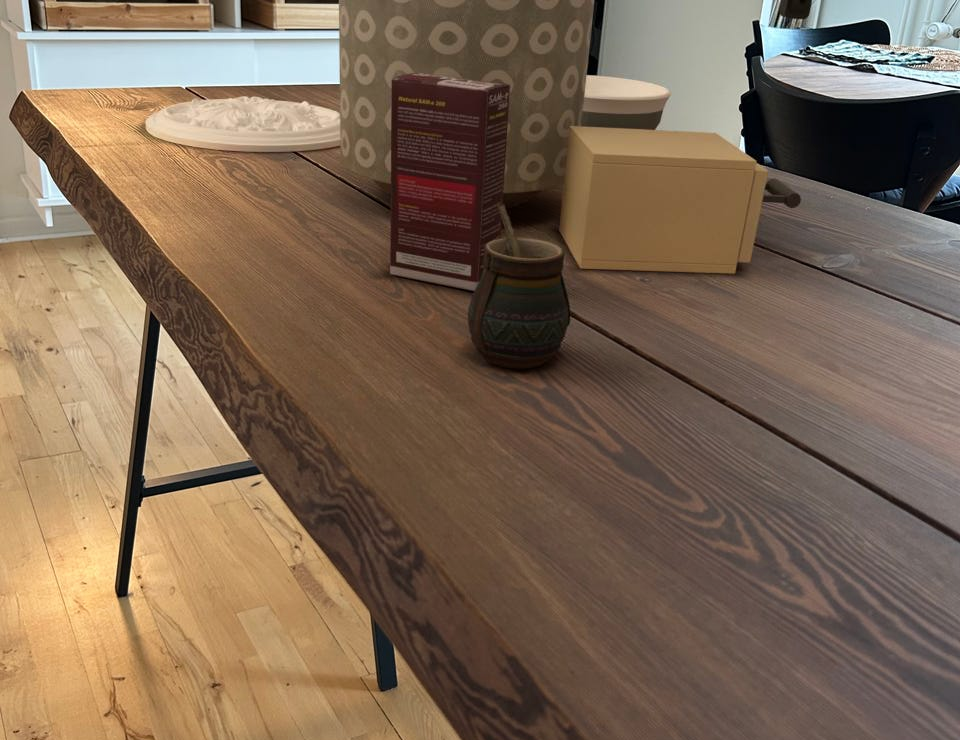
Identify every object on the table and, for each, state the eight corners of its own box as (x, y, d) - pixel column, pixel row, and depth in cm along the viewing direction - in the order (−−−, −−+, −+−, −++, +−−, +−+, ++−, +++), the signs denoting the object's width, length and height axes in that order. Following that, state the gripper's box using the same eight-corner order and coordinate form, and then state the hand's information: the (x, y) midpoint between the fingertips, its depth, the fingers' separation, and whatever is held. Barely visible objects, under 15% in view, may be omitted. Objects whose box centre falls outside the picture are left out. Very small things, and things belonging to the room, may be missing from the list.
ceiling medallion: (262, 162, 122) (261, 134, 121) (99, 126, 134) (96, 100, 132) (399, 132, 143) (400, 108, 141) (248, 103, 155) (246, 80, 153)
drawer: (759, 230, 105) (776, 146, 101) (798, 264, 96) (819, 173, 92) (585, 224, 104) (595, 137, 99) (607, 257, 94) (619, 163, 90)
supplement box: (500, 279, 89) (514, 83, 81) (476, 294, 86) (489, 90, 77) (412, 261, 92) (417, 70, 84) (386, 275, 89) (388, 76, 80)
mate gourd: (505, 385, 70) (516, 238, 65) (442, 348, 75) (448, 209, 70) (585, 366, 74) (602, 225, 68) (520, 332, 79) (531, 199, 73)
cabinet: (698, 235, 106) (716, 132, 101) (735, 273, 95) (757, 160, 90) (558, 230, 104) (569, 125, 99) (580, 268, 94) (593, 153, 88)
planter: (493, 250, 97) (512, -38, 84) (291, 201, 108) (282, -61, 95) (611, 203, 115) (641, -39, 103) (429, 165, 126) (436, -58, 114)
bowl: (497, 142, 141) (501, 77, 137) (590, 131, 152) (596, 71, 148) (597, 170, 130) (605, 101, 125) (689, 156, 141) (700, 92, 136)
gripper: (924, -231, 76) (864, 28, 85) (853, -214, 87) (807, 13, 96) (827, -239, 75) (777, 23, 84) (767, -222, 86) (729, 8, 95)
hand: (793, 17), depth 90 cm, fingers closed
